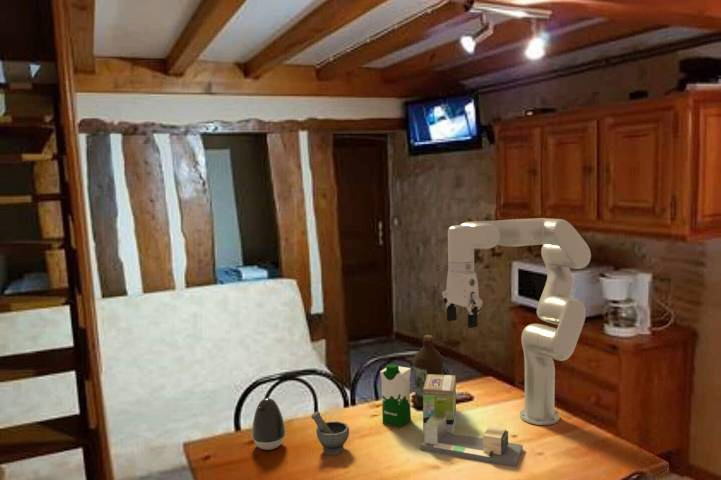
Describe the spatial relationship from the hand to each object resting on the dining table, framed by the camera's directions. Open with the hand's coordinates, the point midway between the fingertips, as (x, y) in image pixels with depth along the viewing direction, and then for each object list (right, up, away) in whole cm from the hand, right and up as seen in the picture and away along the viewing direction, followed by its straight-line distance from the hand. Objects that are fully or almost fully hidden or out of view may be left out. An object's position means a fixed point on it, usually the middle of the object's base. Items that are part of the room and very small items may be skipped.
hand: (461, 323), depth 176 cm
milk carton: (-18, -36, +21) cm, 45 cm away
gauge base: (+3, -37, 0) cm, 38 cm away
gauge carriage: (+9, -36, -5) cm, 37 cm away
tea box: (-4, -36, +18) cm, 40 cm away
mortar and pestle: (-39, -39, +3) cm, 55 cm away
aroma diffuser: (-58, -39, +6) cm, 71 cm away
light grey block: (-7, -36, +4) cm, 37 cm away
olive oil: (-6, -34, +35) cm, 49 cm away
